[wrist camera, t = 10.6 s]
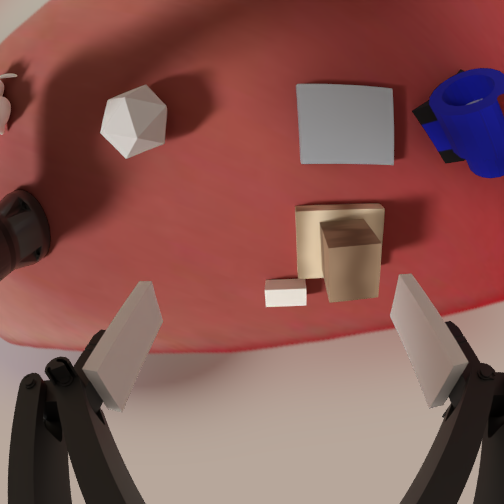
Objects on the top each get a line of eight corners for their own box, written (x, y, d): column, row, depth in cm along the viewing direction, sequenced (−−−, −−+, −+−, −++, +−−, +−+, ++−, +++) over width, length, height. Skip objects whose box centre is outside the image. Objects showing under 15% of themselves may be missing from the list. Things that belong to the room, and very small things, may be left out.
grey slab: (300, 160, 37) (301, 163, 34) (295, 86, 33) (296, 83, 30) (385, 161, 36) (393, 165, 33) (384, 90, 31) (392, 88, 29)
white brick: (266, 295, 46) (266, 306, 44) (265, 279, 45) (264, 290, 42) (304, 294, 46) (306, 305, 43) (304, 277, 44) (306, 288, 42)
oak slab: (297, 268, 44) (298, 279, 41) (294, 204, 40) (295, 211, 37) (373, 264, 43) (378, 274, 40) (378, 202, 38) (384, 208, 36)
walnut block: (321, 269, 40) (329, 302, 33) (319, 222, 37) (328, 248, 30) (362, 265, 40) (377, 297, 32) (363, 218, 37) (381, 243, 29)
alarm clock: (458, 65, 27) (523, 57, 14) (496, 133, 30) (561, 151, 17) (408, 106, 31) (470, 108, 18) (451, 176, 35) (514, 208, 21)
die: (152, 76, 33) (85, 92, 27) (190, 91, 30) (114, 110, 24) (149, 128, 40) (90, 149, 34) (184, 150, 37) (118, 177, 31)
